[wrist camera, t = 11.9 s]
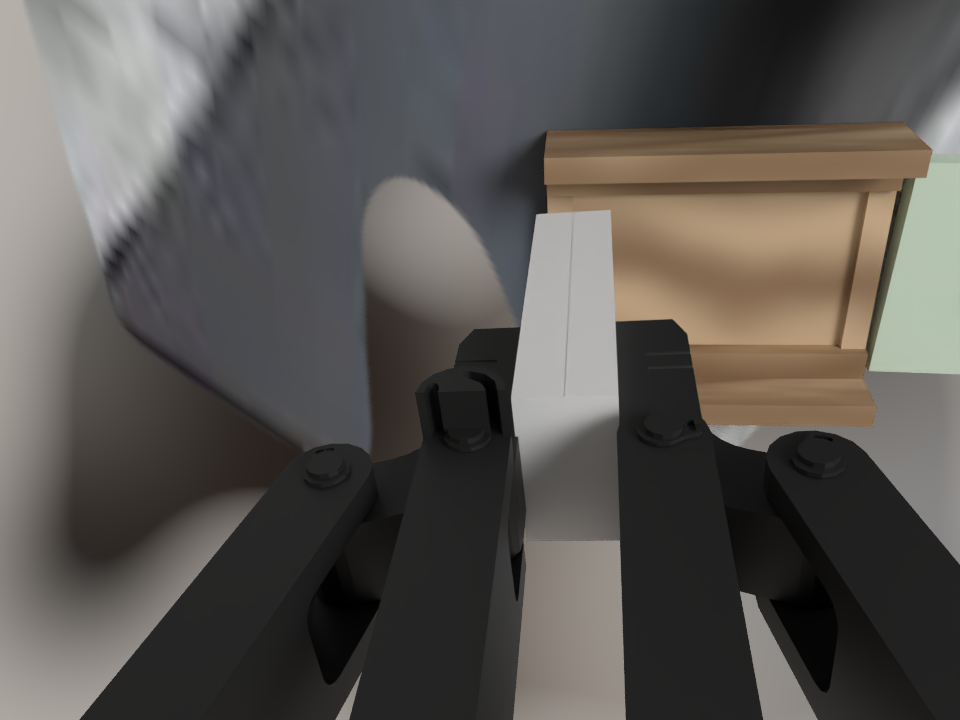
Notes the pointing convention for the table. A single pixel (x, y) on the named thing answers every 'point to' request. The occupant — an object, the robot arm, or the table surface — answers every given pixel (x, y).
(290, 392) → the table surface
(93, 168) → the table surface
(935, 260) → the cover plate
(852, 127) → the oak box
